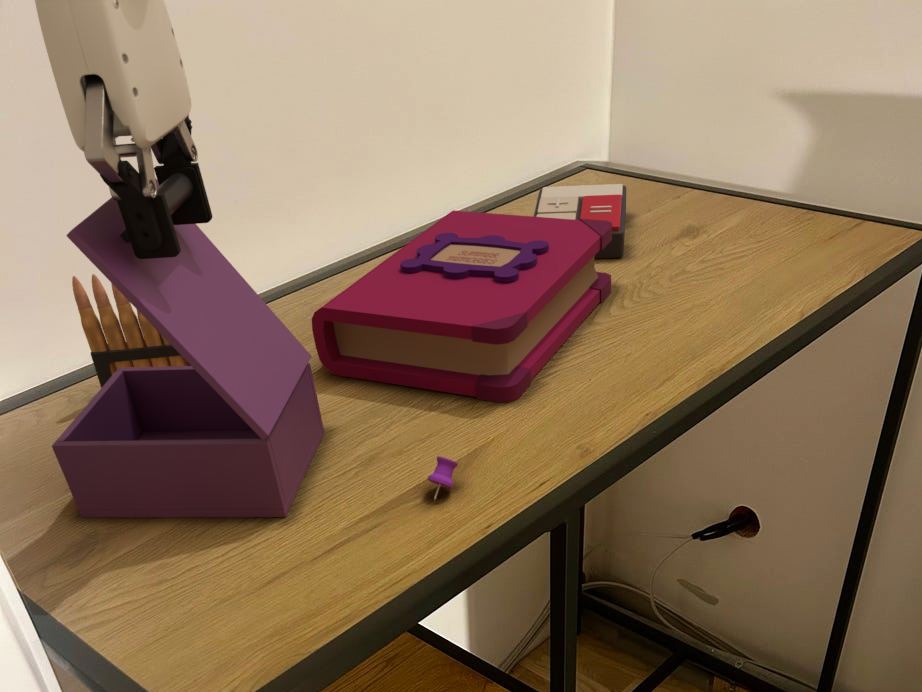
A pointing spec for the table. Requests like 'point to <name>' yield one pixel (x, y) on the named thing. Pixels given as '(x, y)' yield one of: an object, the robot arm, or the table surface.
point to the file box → (184, 449)
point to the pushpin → (443, 473)
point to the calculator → (588, 209)
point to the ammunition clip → (120, 334)
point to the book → (468, 305)
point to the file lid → (201, 310)
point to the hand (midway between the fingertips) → (175, 236)
